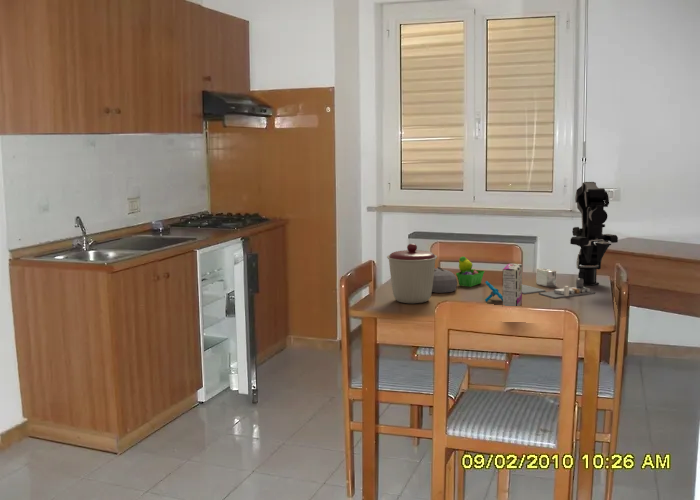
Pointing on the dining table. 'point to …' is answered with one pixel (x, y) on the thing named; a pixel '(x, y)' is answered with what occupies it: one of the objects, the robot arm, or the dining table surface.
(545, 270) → the chain link
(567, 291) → the rail base
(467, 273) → the fruit basket
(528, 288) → the pad
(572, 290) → the rack
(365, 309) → the dining table surface
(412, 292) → the canister
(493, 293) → the blue bumpy stand
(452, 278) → the soft grey pack
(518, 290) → the candy bar box
